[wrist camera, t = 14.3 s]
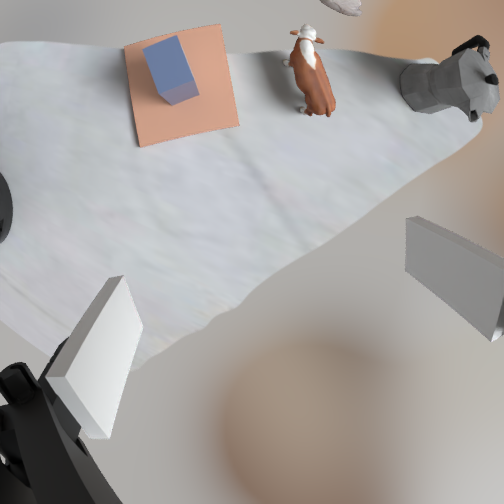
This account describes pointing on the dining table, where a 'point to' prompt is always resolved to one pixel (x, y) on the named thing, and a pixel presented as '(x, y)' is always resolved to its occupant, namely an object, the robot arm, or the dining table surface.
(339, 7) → the fossil
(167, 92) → the block
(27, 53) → the dining table surface
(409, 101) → the coffeepot
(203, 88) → the plate
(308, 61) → the bull figurine
